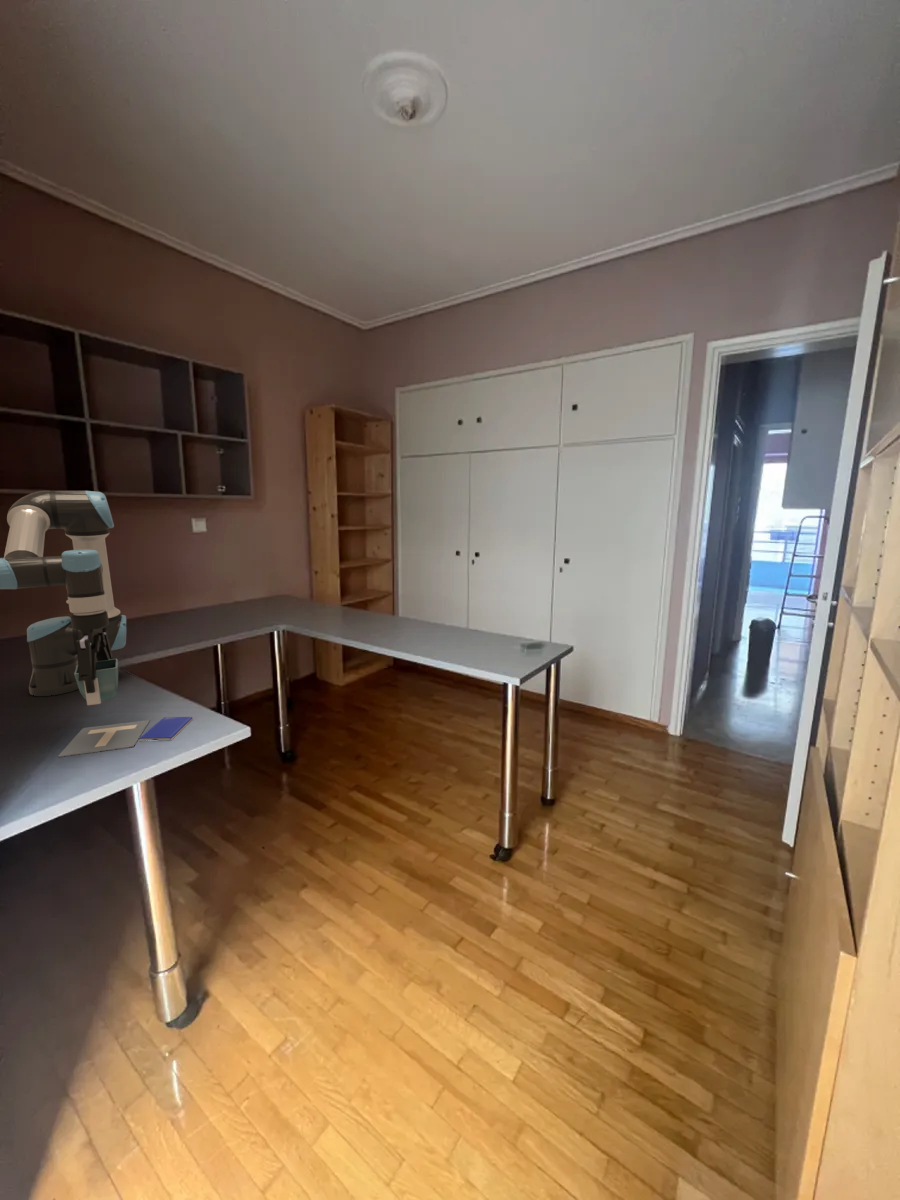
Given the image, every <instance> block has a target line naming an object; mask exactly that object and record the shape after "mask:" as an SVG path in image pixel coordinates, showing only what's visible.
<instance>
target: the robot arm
mask: <svg viewBox="0 0 900 1200" xmlns="http://www.w3.org/2000/svg"><path fill="white" fill-rule="evenodd" d="M6 521H7V524H8V526H9V531H8V534H7V538H6V539H7V541H6V545H5V551H4V554H3V555H4V556H3V557H0V590H17V589H19V590H20V589H29V588H30V589H31V588H42V587H43V588H44V587H56V586H57V587H58V586H65V588H66V592H67V594H66V597H67V599H66V601H65V603H66V604H68V608H69V609H68V610H69V612H70V613H71V615H70V616H67V615H65V616H57V617H51V618H47V619H46V618H45V619H43V620H40V621H37V622H34V623H32V624H30V625H29V626H28V627H27V628H26V642H27V643H28V648H29V649H28V650H29V654H30V660H31V667H32V672H31V676H30V679H29V685H28V690H29V691H28V692H29V694H30V695H31V696H33V695H34V696H35V697H49V696H50V697H51V695H52V696H58V695H62V694H68V693H70V692H75V691H77V690H79V688H78V685H77V681H76V678H75V675H74V673H75V670H76V666H77V665H78V673H79V678H78V680H79V681H84V687H85V693H86V699H85V700H86V705H87V706H93V705H101V704H102V701H101V698H100V691H99V685H98V678H96V662H97V661H104V660H110V659H114V657H113V652H112V651H114V650H120V649H123V648H124V647H125V646H126V643H127V616H126V615H125V614H122V613H121V610H120V609H119V608H117V607H115V602H114V601H115V600H114V594H113V588H112V580H111V572H110V565H109V560H108V552H107V545H106V538H107V537H108V536H109V535H110V529H113V528H114V527H115V524H114V521H113V516H112V513H111V510H110V506H109V503H108V500H107V497H106V495H105V493H103V492H101V491H95V490H93V491H91V490H39V491H34V492H32V493H29V494H26V495H24V496H22V497H21V498H19V499H17V500H16V501H15V502H14V503H13V504H12V505H11V507H10V508H9V509H8V512H7V516H6ZM54 529H55V530H61V529H62V530H64V535H65V536H66V537H68V538H70V540H72V542H71V543H72V548H73V549H71V550H64V551H63V552H62V553H61V555H58V556H57V555H56V556H54V555H53V556H44V548H45V538H46V537H45V535H46V532H47V531H48V530H54ZM34 696H33V697H34Z"/></svg>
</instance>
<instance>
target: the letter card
mask: <svg viewBox="0 0 900 1200" xmlns="http://www.w3.org/2000/svg"><path fill="white" fill-rule="evenodd" d="M150 721H151V720H150V719H147V720H138V721H129V722H121V723H114V724H113V723H112V724H106V725H96V726H88V727H82V728H81V730H80V731H79V732H78V733H77V734H76V735H75V736H74V737H73V739H72V740H71V741H70V742H69V743H68V744H67V746H65V748H63V750H61V752H60V753H59V754H58V755H57V758H64V756H65V757H72V756H79V754H80V755H86V754H85V753H87V754H94V753H93V752H95V753H101V752H100V751H102V752H107V751H106V750H109V751H115V749H117V750H123V749H122V748H124V749H130V748H129V747H132V748H134V747H135V746H136V744H137V743H138V742H139V737H141V736H142V735H143V733H142V732H144V731H145V730H144V729H146V728H147V727H148V725H147V724H149V723H150ZM136 742H137V743H136ZM134 745H135V746H134ZM71 755H72V756H71Z"/></svg>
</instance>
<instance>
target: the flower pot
mask: <svg viewBox="0 0 900 1200" xmlns="http://www.w3.org/2000/svg"><path fill="white" fill-rule="evenodd" d="M74 675H75V678H76V681H77V685H78V688H79V689H78V691H79V693H80V694H81V696H82V698H84V699H85V700H86V693H85V687H84V681H79V680H78V678H79V673H78V665H77V666H76V670H75V673H74ZM96 678H98V685H99V691H100V698H101V702H102V701H103V702H104V701H110V700H113V699H114V698H115V696H116V694H117V692H118V688H119V687H118V686H119V660H118V658H113V659H110V660H104V661H98V660H96Z"/></svg>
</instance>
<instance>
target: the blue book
mask: <svg viewBox="0 0 900 1200" xmlns="http://www.w3.org/2000/svg"><path fill="white" fill-rule="evenodd" d="M192 719H194V718H193V716H172V717H171V716H170V717H169V716H168V717H167V716H166V717H163V718H161V719H160V720H159V721H158V722H156V724H154V725H153V726H152V727H150V729H149V730H147V731H146V732H144V734H142V735H141V736H140V738H139V739H138V742H139V741H142V742H149V741H148V740H171V741H172V740H173V738H174V737H175V736H176V735H177V734H178V733H179V732H180V731H181V730H182V729H183V728H184V727H185V726H186V725H187V724H188V723H189V722H190V721H191V720H192ZM192 721H193V720H192ZM192 721H191V722H192ZM191 722H190V723H191ZM190 723H189V724H190ZM189 724H188V725H189ZM188 725H187V726H188ZM187 726H186V727H187ZM186 727H185V728H186ZM185 728H184V729H185ZM184 729H183V730H184ZM183 730H182V731H183ZM182 731H181V732H182ZM181 732H180V733H181ZM180 733H179V734H180ZM179 734H178V735H179ZM178 735H177V736H178ZM177 736H176V737H177ZM176 737H175V738H176ZM175 738H174V739H175ZM146 740H147V741H146Z"/></svg>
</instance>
